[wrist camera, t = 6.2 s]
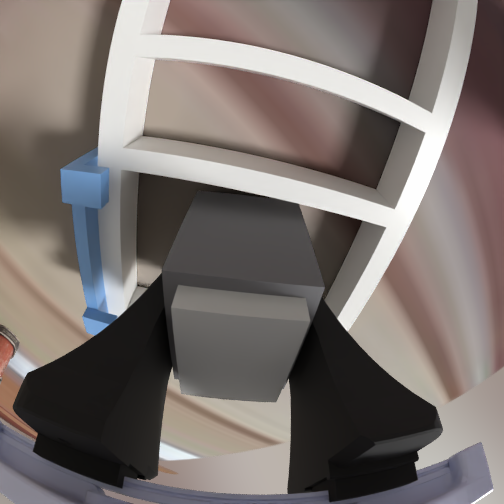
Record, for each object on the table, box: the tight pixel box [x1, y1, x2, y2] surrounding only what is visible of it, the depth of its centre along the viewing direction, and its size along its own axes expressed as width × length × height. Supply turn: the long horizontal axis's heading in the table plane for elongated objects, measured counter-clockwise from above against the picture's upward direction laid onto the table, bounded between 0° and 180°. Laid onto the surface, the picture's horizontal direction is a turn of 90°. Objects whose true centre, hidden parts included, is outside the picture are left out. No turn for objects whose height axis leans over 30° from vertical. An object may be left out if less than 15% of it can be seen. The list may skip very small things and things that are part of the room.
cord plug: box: [162, 191, 325, 402], centre depth 10 cm, size 4×5×6 cm
